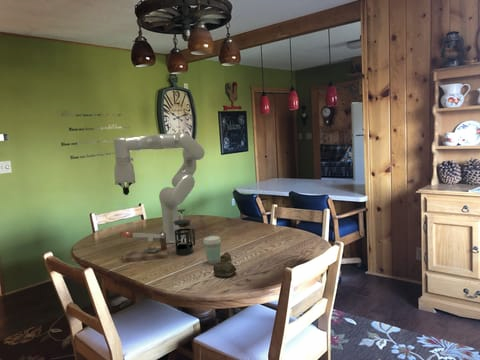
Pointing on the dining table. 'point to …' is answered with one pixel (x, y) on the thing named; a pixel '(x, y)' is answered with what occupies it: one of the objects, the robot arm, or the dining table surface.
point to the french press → (184, 244)
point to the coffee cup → (212, 249)
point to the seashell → (224, 266)
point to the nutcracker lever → (142, 235)
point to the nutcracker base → (148, 253)
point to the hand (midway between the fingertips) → (126, 194)
